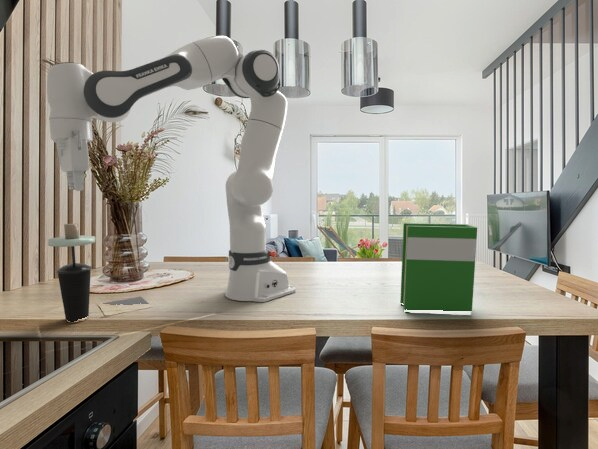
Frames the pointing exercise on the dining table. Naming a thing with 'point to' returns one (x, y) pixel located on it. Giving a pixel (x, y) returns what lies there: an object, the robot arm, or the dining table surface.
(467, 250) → the hardback book
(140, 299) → the mat
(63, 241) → the lid
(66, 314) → the drinking cup
